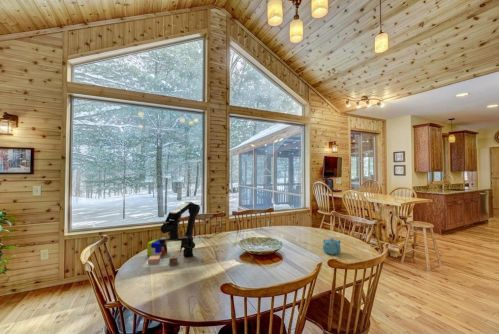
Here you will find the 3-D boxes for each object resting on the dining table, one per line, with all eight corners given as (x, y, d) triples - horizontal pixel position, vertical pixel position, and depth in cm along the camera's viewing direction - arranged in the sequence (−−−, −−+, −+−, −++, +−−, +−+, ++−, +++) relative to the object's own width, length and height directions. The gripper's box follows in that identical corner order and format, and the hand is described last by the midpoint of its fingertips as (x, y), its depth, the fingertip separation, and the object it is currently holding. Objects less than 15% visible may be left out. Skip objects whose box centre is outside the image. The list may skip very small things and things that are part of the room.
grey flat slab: (170, 259, 176) (170, 257, 176) (167, 266, 162) (167, 265, 162) (146, 260, 173) (146, 259, 173) (142, 268, 159) (142, 267, 159)
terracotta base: (160, 259, 173) (160, 255, 173) (158, 263, 166) (158, 258, 166) (150, 260, 172) (150, 255, 172) (148, 263, 165) (148, 259, 165)
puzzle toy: (159, 257, 179) (159, 244, 179) (147, 256, 181) (147, 243, 181) (166, 252, 189) (166, 240, 189) (154, 251, 191) (155, 239, 191)
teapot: (332, 259, 179) (332, 243, 179) (315, 252, 193) (315, 237, 193) (349, 254, 190) (349, 239, 190) (331, 248, 204) (331, 234, 204)
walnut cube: (177, 262, 170) (177, 255, 170) (177, 265, 165) (177, 258, 165) (170, 263, 169) (170, 256, 169) (169, 266, 164) (169, 258, 164)
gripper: (188, 226, 177) (188, 247, 177) (161, 227, 173) (161, 249, 173) (187, 230, 166) (187, 252, 166) (159, 231, 162) (158, 254, 162)
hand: (173, 252), depth 167 cm, fingers open, 9 cm apart
